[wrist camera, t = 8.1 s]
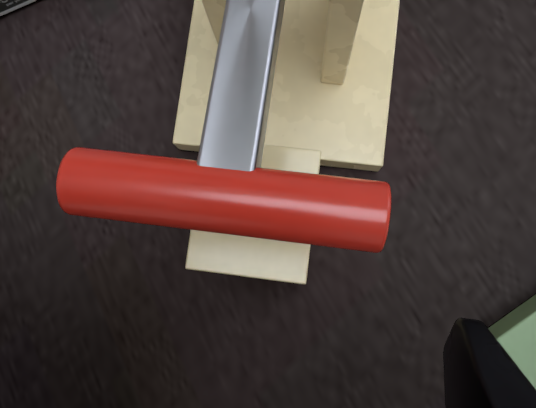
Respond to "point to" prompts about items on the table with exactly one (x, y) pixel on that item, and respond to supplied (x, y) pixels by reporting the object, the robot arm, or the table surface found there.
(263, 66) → the red handled lever
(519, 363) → the control block
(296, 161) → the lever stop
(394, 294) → the table surface
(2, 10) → the light bulb box
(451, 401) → the robot arm
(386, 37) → the lever stand
